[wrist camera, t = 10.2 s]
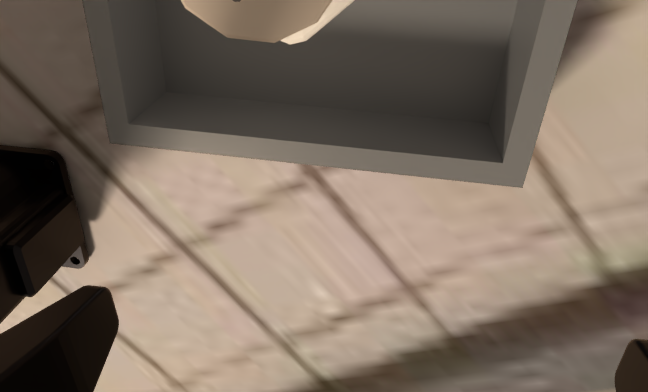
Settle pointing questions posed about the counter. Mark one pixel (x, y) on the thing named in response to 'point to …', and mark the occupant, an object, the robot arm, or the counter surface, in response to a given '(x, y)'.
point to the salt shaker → (267, 17)
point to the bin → (339, 85)
